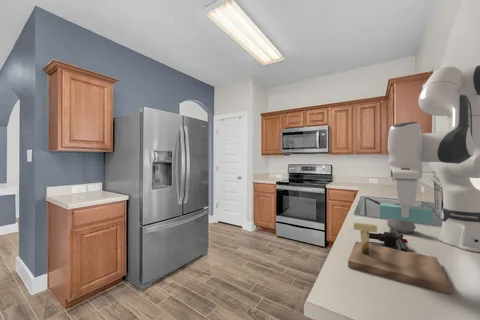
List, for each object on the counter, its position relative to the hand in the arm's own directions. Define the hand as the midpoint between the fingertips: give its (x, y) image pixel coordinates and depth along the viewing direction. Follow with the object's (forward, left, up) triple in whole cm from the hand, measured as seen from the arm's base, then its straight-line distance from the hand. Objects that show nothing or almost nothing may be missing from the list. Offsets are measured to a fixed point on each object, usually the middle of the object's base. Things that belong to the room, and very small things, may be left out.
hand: (404, 214), depth 67 cm
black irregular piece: (+5, -20, -17) cm, 27 cm away
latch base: (+3, 0, -17) cm, 17 cm away
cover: (0, 0, -1) cm, 1 cm away
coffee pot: (+4, -46, -17) cm, 50 cm away
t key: (+11, -3, -15) cm, 19 cm away
